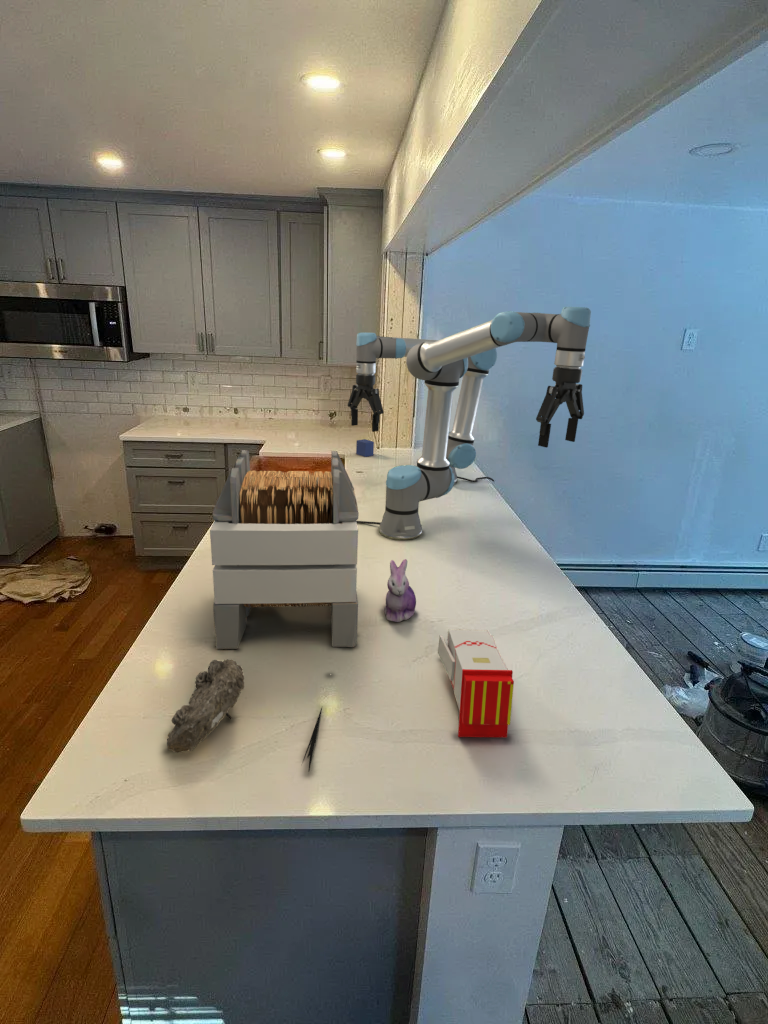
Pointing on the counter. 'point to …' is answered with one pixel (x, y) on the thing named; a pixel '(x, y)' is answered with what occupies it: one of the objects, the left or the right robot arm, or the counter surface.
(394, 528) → the left robot arm
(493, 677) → the toy
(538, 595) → the counter surface
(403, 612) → the figurine
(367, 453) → the block
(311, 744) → the feather
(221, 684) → the fossil
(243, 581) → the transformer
